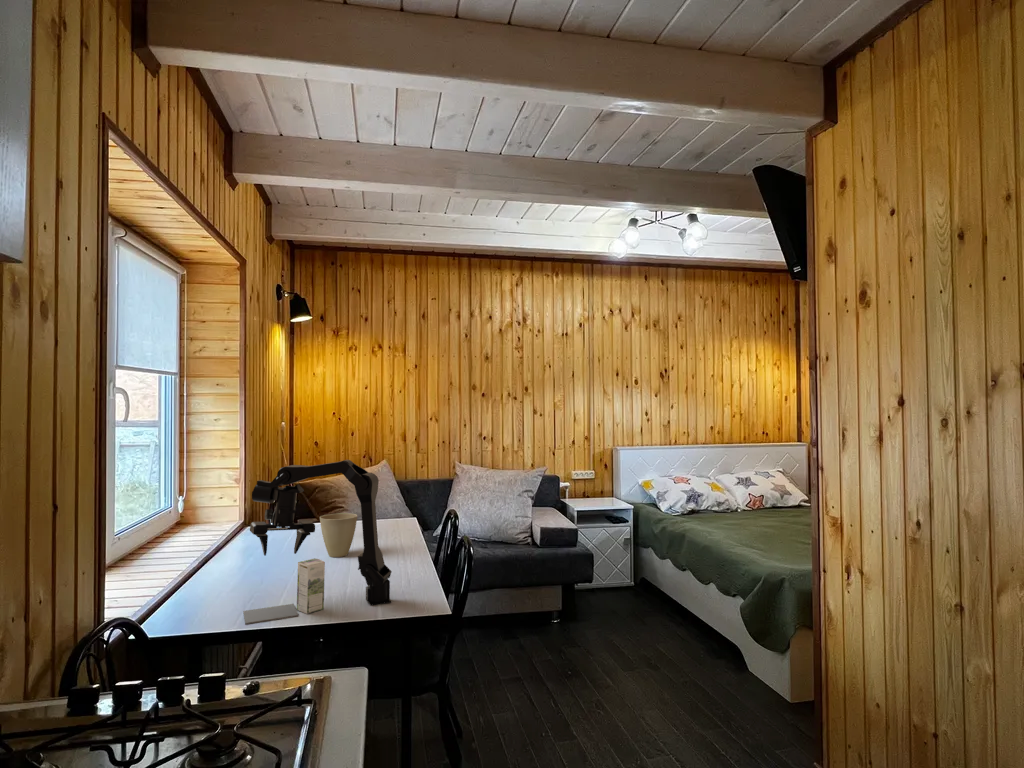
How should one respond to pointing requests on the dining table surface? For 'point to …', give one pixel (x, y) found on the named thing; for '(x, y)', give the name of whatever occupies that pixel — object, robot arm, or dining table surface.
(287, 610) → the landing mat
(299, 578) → the syrup box
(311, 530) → the robot arm
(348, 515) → the plant pot
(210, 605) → the dining table surface
